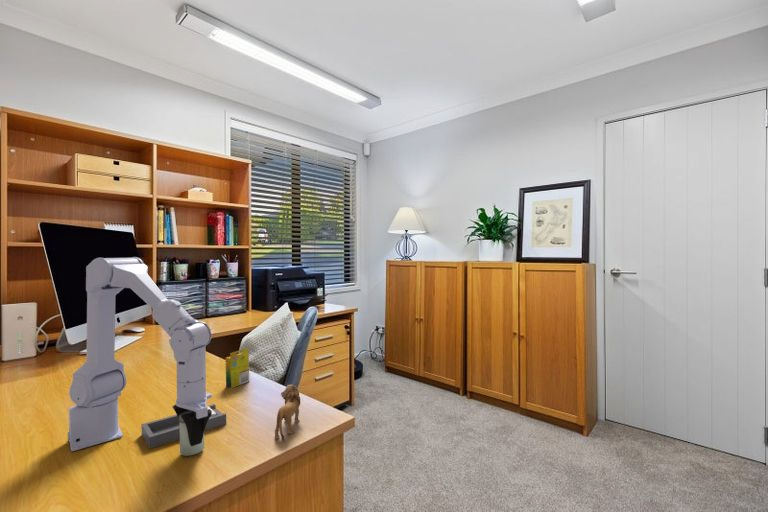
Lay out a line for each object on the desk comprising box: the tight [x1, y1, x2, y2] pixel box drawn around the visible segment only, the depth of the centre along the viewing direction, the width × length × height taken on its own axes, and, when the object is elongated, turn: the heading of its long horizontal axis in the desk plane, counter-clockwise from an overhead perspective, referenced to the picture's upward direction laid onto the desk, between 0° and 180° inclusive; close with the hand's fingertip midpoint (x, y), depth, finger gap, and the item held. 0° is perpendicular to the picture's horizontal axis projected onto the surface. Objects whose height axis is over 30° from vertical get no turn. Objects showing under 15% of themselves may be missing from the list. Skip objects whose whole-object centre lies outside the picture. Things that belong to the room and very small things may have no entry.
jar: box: [179, 410, 205, 457], centre depth 81 cm, size 5×5×8 cm
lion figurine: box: [274, 384, 301, 442], centre depth 92 cm, size 15×5×9 cm, turn 7°
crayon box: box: [224, 347, 250, 389], centre depth 123 cm, size 7×3×12 cm, turn 149°
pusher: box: [206, 405, 216, 417], centre depth 94 cm, size 6×6×2 cm
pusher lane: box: [141, 403, 227, 450], centre depth 92 cm, size 17×9×3 cm, turn 134°
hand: (192, 439), depth 81 cm, fingers closed on jar, 5 cm apart
